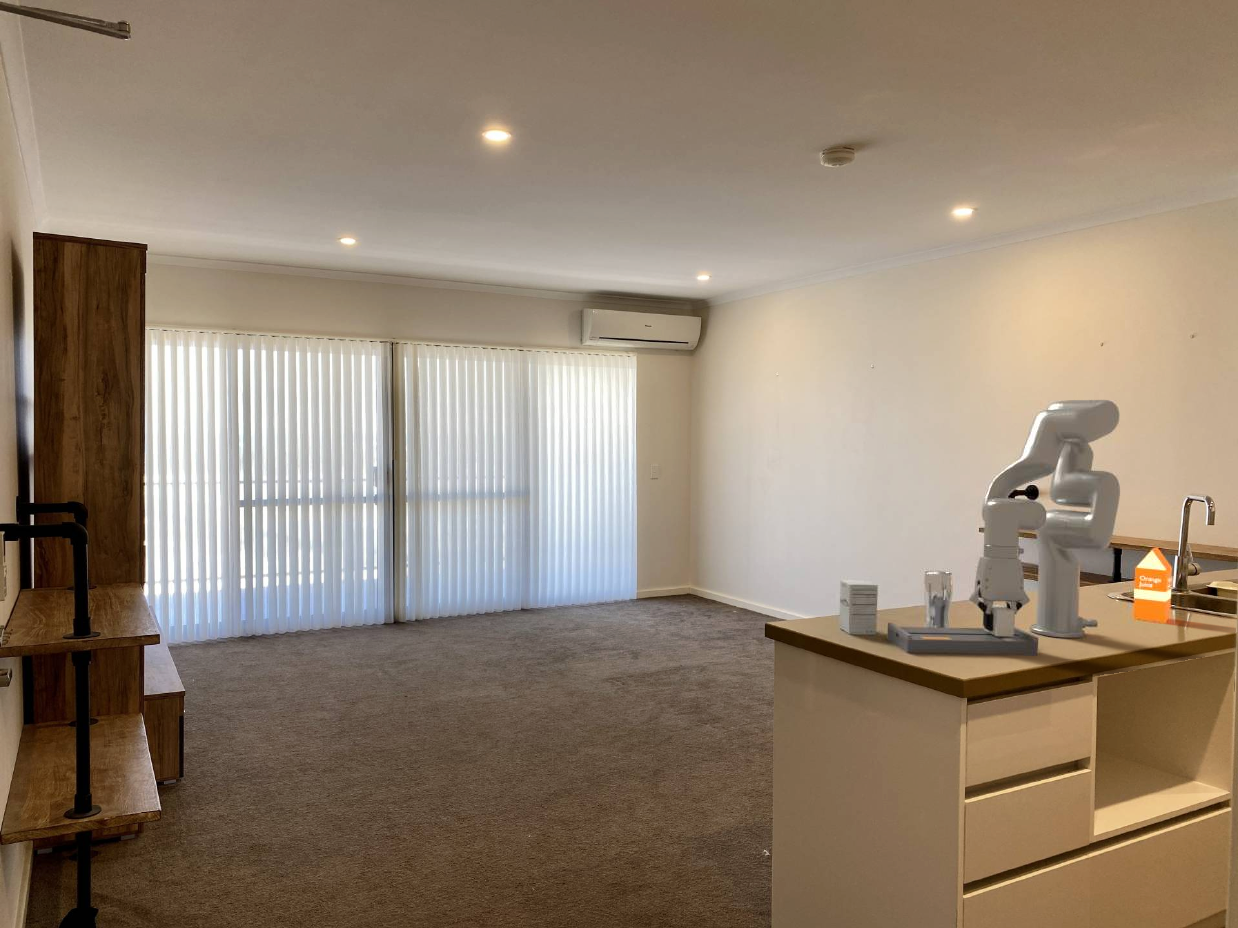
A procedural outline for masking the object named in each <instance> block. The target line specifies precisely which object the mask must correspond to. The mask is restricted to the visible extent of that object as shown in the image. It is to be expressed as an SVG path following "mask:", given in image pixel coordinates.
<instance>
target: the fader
mask: <svg viewBox="0 0 1238 928" xmlns="http://www.w3.org/2000/svg"><path fill="white" fill-rule="evenodd" d="M991 614H993V630H992V631H989V630H986V629H985V628H984V627H983V628H984V629H983V630H985V631H987V632H989V633H991V634H993V635H995V636H1014V627H1015V618H1014V610H1011V609H1009V608H1006V606H1004V605H1002V604H993V606H992V611H991Z"/></svg>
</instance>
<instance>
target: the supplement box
mask: <svg viewBox="0 0 1238 928" xmlns="http://www.w3.org/2000/svg"><path fill="white" fill-rule="evenodd" d="M878 586H879V585H878V584H875V583H874V582H871V581H869V580H867V579H841V580H840V588H839V589H840V591H839V596H840V597H839V620H838V621H839V624H838V628H839V629H840V630H842V631H844V632H846V633H847V634H849V635H857V636H859V635H862V636H863V635H867V636H868V635H869V636H870V635H872V636H873V634H874V635H877V623H878V622H877V617H878V595H879V594H878V589H879V587H878Z"/></svg>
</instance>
